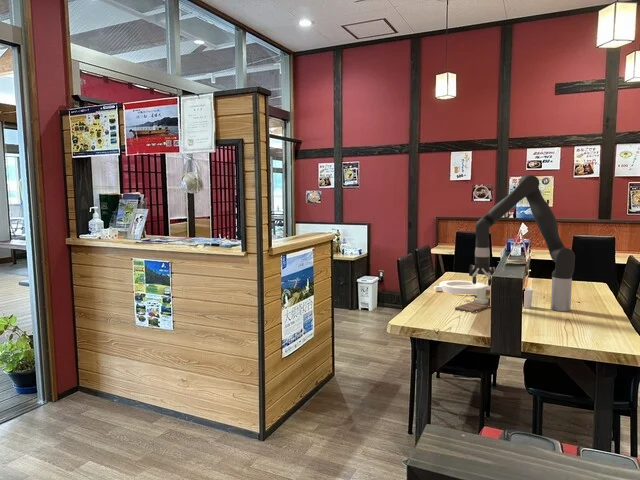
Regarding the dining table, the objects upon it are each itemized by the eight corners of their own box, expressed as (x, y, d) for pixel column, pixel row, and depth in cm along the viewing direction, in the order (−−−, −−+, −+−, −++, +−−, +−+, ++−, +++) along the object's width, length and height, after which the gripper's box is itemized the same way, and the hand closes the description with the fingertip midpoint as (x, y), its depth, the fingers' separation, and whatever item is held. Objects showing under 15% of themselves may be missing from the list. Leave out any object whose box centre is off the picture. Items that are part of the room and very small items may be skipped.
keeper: (478, 301, 249) (478, 286, 248) (488, 302, 245) (488, 288, 244) (473, 302, 245) (474, 288, 245) (484, 304, 241) (484, 289, 240)
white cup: (517, 304, 247) (517, 286, 246) (532, 306, 243) (533, 288, 242) (515, 307, 240) (516, 289, 239) (531, 309, 236) (532, 290, 235)
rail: (476, 302, 252) (476, 295, 252) (493, 305, 245) (493, 298, 244) (454, 309, 235) (455, 302, 235) (472, 313, 228) (472, 305, 228)
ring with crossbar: (491, 291, 286) (492, 283, 285) (474, 298, 265) (474, 290, 264) (450, 285, 304) (451, 278, 304) (431, 292, 283) (431, 284, 283)
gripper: (498, 255, 240) (497, 285, 242) (473, 254, 251) (473, 282, 252) (491, 257, 235) (491, 287, 237) (466, 255, 245) (466, 284, 247)
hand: (482, 284), depth 244 cm, fingers open, 8 cm apart
